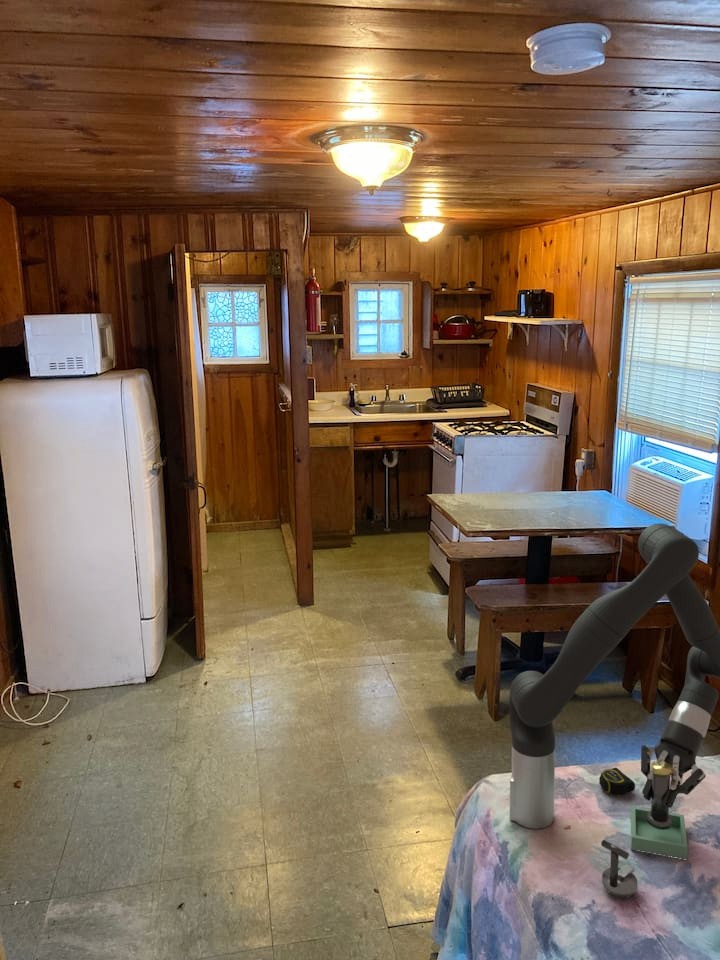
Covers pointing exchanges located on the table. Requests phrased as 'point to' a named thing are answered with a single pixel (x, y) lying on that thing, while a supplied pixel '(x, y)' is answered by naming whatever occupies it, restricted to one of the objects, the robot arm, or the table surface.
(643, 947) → the table surface
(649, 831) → the tray
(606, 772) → the tape measure
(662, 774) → the pin
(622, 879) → the t-handle
